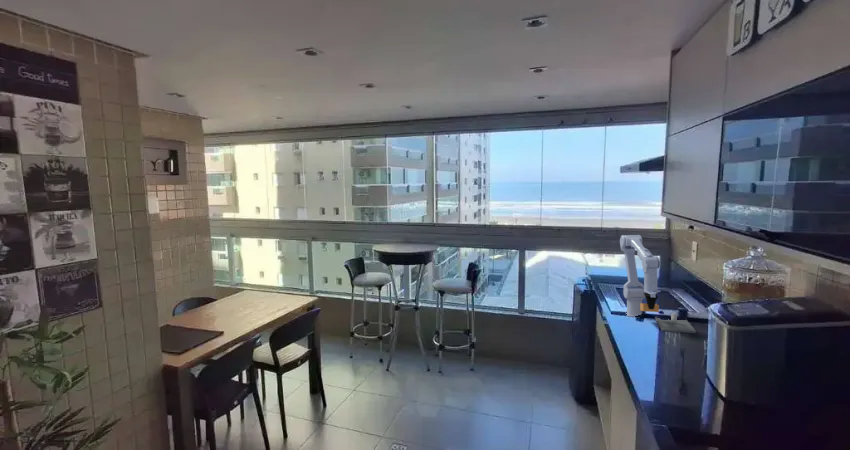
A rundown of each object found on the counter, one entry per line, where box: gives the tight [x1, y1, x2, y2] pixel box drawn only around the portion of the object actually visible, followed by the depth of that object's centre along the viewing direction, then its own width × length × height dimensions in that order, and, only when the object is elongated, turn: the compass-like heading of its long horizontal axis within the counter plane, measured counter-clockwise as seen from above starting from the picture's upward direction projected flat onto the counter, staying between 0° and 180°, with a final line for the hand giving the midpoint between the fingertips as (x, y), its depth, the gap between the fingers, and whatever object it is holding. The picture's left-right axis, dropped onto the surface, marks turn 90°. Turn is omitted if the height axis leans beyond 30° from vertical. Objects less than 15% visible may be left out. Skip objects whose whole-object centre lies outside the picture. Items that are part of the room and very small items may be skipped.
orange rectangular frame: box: [640, 302, 660, 313], centre depth 202 cm, size 11×7×4 cm, turn 158°
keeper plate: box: [654, 312, 697, 334], centre depth 198 cm, size 20×14×6 cm
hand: (650, 308), depth 197 cm, fingers closed on orange rectangular frame, 2 cm apart
